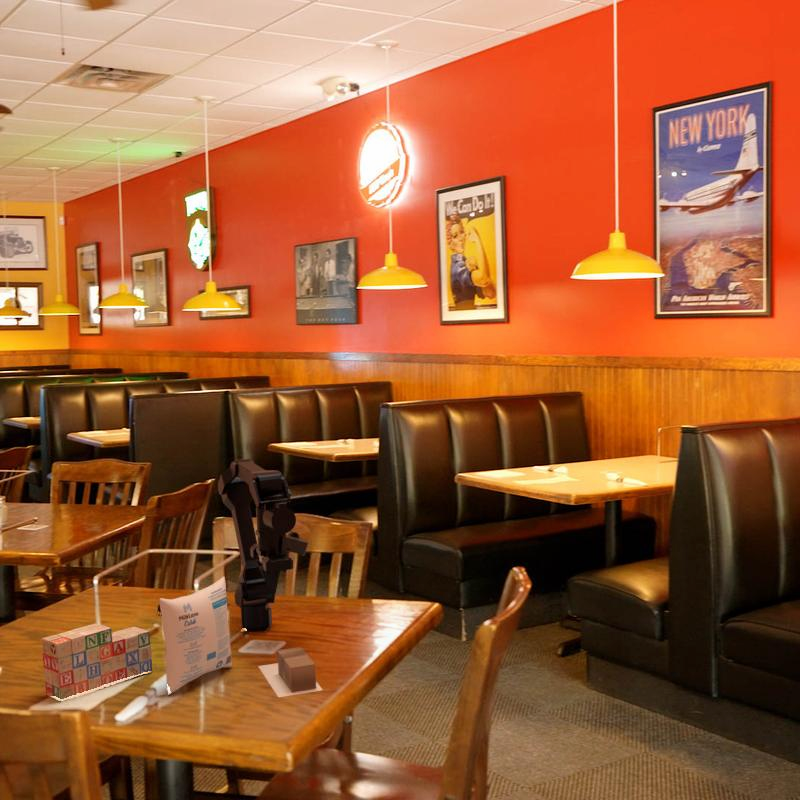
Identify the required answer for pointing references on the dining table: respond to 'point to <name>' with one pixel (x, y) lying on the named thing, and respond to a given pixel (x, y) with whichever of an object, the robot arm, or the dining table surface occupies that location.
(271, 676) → the placemat
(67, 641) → the stack of blocks
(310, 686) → the walnut block
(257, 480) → the robot arm
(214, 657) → the pouch
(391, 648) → the dining table surface
